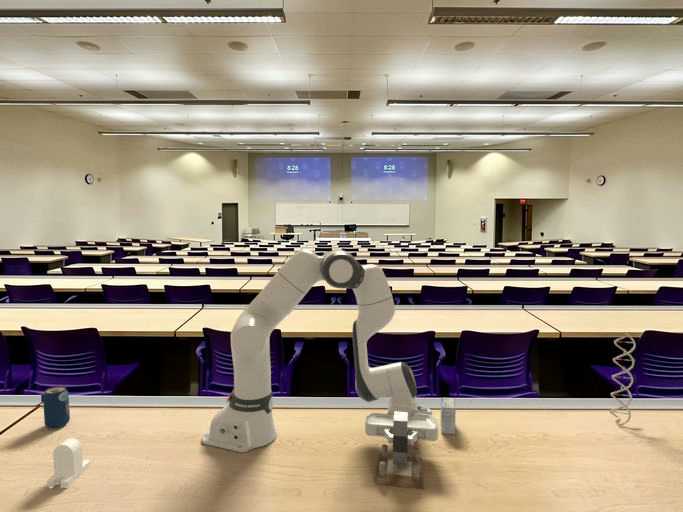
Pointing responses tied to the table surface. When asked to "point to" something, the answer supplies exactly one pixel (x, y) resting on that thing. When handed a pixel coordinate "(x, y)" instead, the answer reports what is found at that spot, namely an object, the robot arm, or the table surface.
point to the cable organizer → (67, 463)
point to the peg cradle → (399, 470)
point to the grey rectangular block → (400, 438)
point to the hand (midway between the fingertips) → (400, 441)
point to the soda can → (56, 407)
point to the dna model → (624, 377)
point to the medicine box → (448, 415)
